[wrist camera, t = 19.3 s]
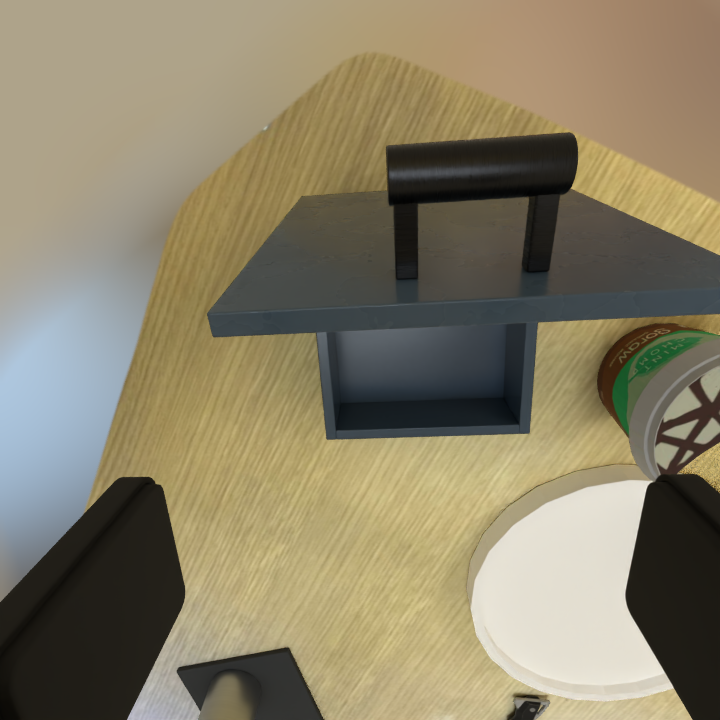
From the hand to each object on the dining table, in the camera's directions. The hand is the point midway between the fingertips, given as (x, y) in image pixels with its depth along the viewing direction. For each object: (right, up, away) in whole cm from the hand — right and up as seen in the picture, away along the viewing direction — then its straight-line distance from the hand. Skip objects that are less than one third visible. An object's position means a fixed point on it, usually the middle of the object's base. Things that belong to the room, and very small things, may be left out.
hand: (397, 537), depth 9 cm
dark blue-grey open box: (+4, +8, +28) cm, 30 cm away
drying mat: (-13, -37, +46) cm, 60 cm away
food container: (+22, +4, +29) cm, 37 cm away
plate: (+24, -19, +37) cm, 49 cm away
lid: (+3, +9, +12) cm, 15 cm away
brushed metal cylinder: (-15, -35, +44) cm, 59 cm away
